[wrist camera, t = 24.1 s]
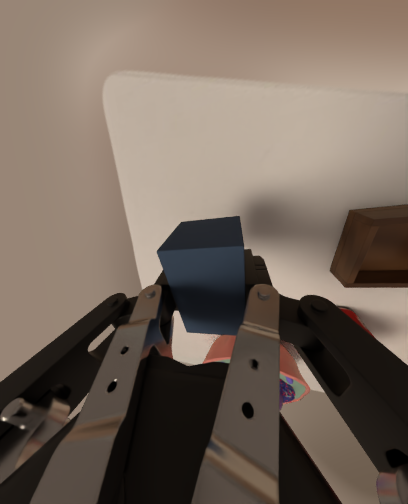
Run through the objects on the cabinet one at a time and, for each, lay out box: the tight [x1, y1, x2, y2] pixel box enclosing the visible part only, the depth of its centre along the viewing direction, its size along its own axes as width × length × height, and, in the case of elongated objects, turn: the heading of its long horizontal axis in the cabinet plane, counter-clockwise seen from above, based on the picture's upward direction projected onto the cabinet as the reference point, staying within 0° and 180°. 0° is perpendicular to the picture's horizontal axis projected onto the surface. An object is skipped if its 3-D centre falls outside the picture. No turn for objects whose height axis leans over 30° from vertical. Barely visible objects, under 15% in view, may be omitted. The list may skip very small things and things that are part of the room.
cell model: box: [203, 335, 310, 411], centre depth 29 cm, size 17×20×11 cm
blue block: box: [157, 216, 246, 336], centre depth 10 cm, size 7×4×4 cm, turn 9°
